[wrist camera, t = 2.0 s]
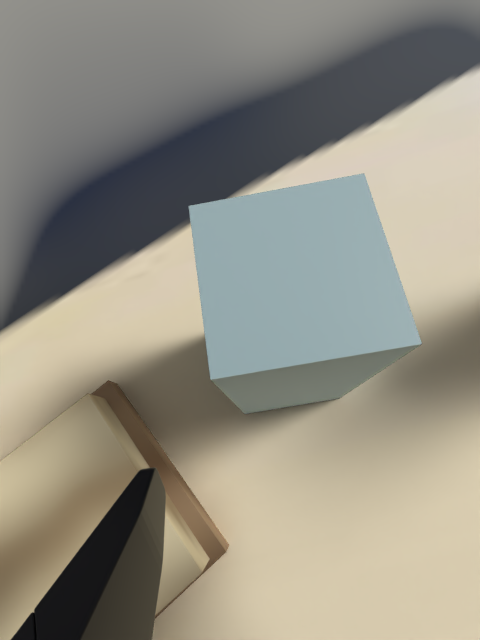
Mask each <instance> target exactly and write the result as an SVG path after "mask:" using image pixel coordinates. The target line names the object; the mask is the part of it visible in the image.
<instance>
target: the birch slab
mask: <svg viewBox="0 0 480 640" xmlns="http://www.w3.org/2000/svg"><path fill="white" fill-rule="evenodd" d="M145 468H150V467H149V465H148V464H147V462H146V461H145V459H144V458H143V456H142V455H141V453H140V452H139V450H138V448H137V447H136V445H135V444H134V442H133V441H132V439H131V438H130V436H129V435H128V433H127V432H126V430H125V429H124V427H123V425H122V424H121V422H120V421H119V419H118V418H117V416H116V415H115V413H114V412H113V410H112V409H111V407H110V406H109V404H108V403H107V401H106V399H105V398H102V397H98V396H95V395H91V394H86V395H85V396H84V397H83V398H81V399H80V400H79V401H77V402H76V403H75V404H74V405H72V406H71V407H70V408H68V409H67V410H66V411H64V412H63V413H62V414H61V415H59V416H58V417H57V418H55V419H54V420H53V421H52V422H50V423H49V424H48V425H46V426H45V427H44V428H43V429H41V430H40V431H39V432H37V433H36V434H35V435H33V436H32V437H31V438H30V439H28V440H27V441H26V442H24V443H23V444H22V445H21V446H19V447H18V448H17V449H15V450H14V451H13V452H12V453H10V454H9V455H8V456H6V457H5V458H4V459H2V460H1V461H0V640H11V638H12V637H13V636H14V635H15V633H16V632H17V631H18V629H19V628H20V627H21V625H22V624H23V623H24V621H25V620H26V619H27V618H28V616H29V615H30V614H31V613H32V612H34V609H35V607H36V606H37V605H38V603H39V602H40V601H41V599H42V598H43V597H44V595H45V594H46V593H47V591H48V590H49V589H50V587H51V586H52V585H53V583H54V582H55V581H56V579H57V578H58V577H59V575H60V574H61V573H62V571H63V570H64V569H65V567H66V566H67V565H68V564H69V562H70V561H71V560H72V558H73V557H74V556H75V554H76V553H77V552H78V550H79V549H80V548H81V546H82V545H83V544H84V542H85V541H86V540H87V538H88V537H89V536H90V534H91V533H92V532H93V530H94V529H95V528H96V527H97V525H98V524H99V523H100V521H101V520H102V519H103V517H104V516H105V515H106V513H107V512H108V511H109V509H110V508H111V507H112V505H113V504H114V503H115V501H116V500H117V499H118V497H119V496H120V495H121V493H122V492H123V491H124V489H125V488H126V487H127V486H128V484H129V483H130V482H131V480H132V479H133V478H134V476H135V475H136V474H137V472H138V471H139V470H141V469H145ZM165 492H166V491H165ZM208 561H209V557H208V556H207V554H206V553H205V551H204V550H203V548H202V546H201V545H200V543H199V542H198V540H197V539H196V537H195V536H194V534H193V533H192V531H191V530H190V528H189V527H188V525H187V524H186V522H185V520H184V519H183V517H182V516H181V514H180V513H179V511H178V510H177V508H176V507H175V505H174V504H173V502H172V501H171V499H170V497H169V496H168V494H167V493H166V506H165V529H164V551H163V564H162V572H161V579H160V586H159V593H158V600H157V607H156V613H155V615H156V614H158V613H159V612H160V611H161V610H162V609H163V608H164V607H165V606H166V605H167V604H168V603H170V602H171V601H172V600H173V599H174V598H175V597H176V596H177V595H178V594H179V593H180V592H182V591H183V590H184V589H185V588H186V587H187V586H188V585H189V584H190V583H191V582H192V581H194V580H195V579H196V578H197V577H198V576H199V575H200V574H201V573H202V572H203V570H204V568H205V566H206V565H207V563H208Z"/></svg>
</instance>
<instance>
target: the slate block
mask: <svg viewBox="0 0 480 640" xmlns="http://www.w3.org/2000/svg"><path fill="white" fill-rule="evenodd" d="M189 212H190V220H191V228H192V236H193V244H194V252H195V260H196V268H197V276H198V284H199V292H200V300H201V308H202V316H203V324H204V332H205V340H206V348H207V356H208V364H209V372H210V380H211V381H212V382H213V383H214V384H215V385H216V386H217V387H218V388H219V389H220V390H221V391H222V392H223V393H224V394H225V395H226V396H227V397H228V398H229V399H230V400H231V401H232V402H233V403H234V404H235V405H236V406H237V407H238V408H239V409H240V410H241V411H242V412H243V413H244V414H249V413H255V412H261V411H267V410H273V409H279V408H285V407H291V406H297V405H303V404H309V403H315V402H321V401H327V400H333V399H339V398H341V397H342V396H344V395H345V394H347V393H348V392H350V391H351V390H353V389H354V388H356V387H357V386H359V385H360V384H362V383H363V382H365V381H367V380H368V379H370V378H371V377H373V376H374V375H376V374H377V373H379V372H380V371H382V370H383V369H385V368H386V367H388V366H389V365H391V364H392V363H394V362H395V361H397V360H398V359H400V358H401V357H403V356H404V355H406V354H408V353H409V352H411V351H412V350H414V349H415V348H417V347H418V346H420V345H421V344H422V342H421V339H420V337H419V334H418V331H417V328H416V325H415V322H414V319H413V316H412V313H411V310H410V307H409V304H408V301H407V298H406V295H405V292H404V289H403V286H402V284H401V281H400V278H399V275H398V272H397V269H396V266H395V263H394V260H393V257H392V254H391V251H390V248H389V245H388V242H387V239H386V236H385V233H384V230H383V228H382V225H381V222H380V219H379V216H378V213H377V210H376V207H375V204H374V201H373V198H372V195H371V192H370V189H369V186H368V183H367V180H366V177H365V175H364V174H358V175H353V176H348V177H342V178H337V179H331V180H326V181H321V182H315V183H310V184H305V185H299V186H294V187H289V188H283V189H278V190H272V191H267V192H262V193H256V194H251V195H246V196H240V197H235V198H229V199H224V200H219V201H214V202H208V203H203V204H198V205H192V206H189Z"/></svg>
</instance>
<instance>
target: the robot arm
mask: <svg viewBox="0 0 480 640" xmlns="http://www.w3.org/2000/svg"><path fill="white" fill-rule="evenodd" d="M165 506H166V492H165V488H164V485H163V482H162V480H161V477H160V475H159V472H158V470H157V469H156V468H155V467H151V468H145V469H141V470H139V471H138V472H137V474H136V475H135V476H134V478H133V479H132V480H131V482H130V483H129V484H128V486H127V487H126V488H125V489H124V491H123V492H122V493H121V495H120V496H119V497H118V499H117V500H116V501H115V503H114V504H113V505H112V507H111V508H110V509H109V511H108V512H107V513H106V515H105V516H104V517H103V519H102V520H101V521H100V523H99V524H98V525H97V527H96V528H95V529H94V530H93V532H92V533H91V534H90V536H89V537H88V538H87V540H86V541H85V542H84V544H83V545H82V546H81V548H80V549H79V550H78V552H77V553H76V554H75V556H74V557H73V558H72V560H71V561H70V562H69V564H68V565H67V566H66V567H65V569H64V570H63V571H62V573H61V574H60V575H59V577H58V578H57V579H56V581H55V582H54V583H53V585H52V586H51V587H50V589H49V590H48V591H47V593H46V594H45V595H44V597H43V598H42V599H41V601H40V602H39V603H38V605H37V606H36V607H35V609H34V612H32V613H31V614H30V615H29V616H28V618H27V619H26V620H25V621H24V623H23V624H22V625H21V627H20V628H19V629H18V631H17V632H16V633H15V635H14V636H13V637H12V638H11V640H152V634H153V627H154V620H155V613H156V607H157V600H158V593H159V586H160V579H161V572H162V564H163V551H164V529H165Z"/></svg>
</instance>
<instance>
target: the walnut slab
mask: <svg viewBox="0 0 480 640" xmlns="http://www.w3.org/2000/svg"><path fill="white" fill-rule="evenodd" d="M91 395H95V396H98V397H102V398H105V399H106V401H107V403H108V404H109V406H110V407H111V409H112V410H113V412H114V413H115V415H116V416H117V418H118V419H119V421H120V422H121V424H122V425H123V427H124V429H125V430H126V432H127V433H128V435H129V436H130V438H131V439H132V441H133V442H134V444H135V445H136V447H137V448H138V450H139V452H140V453H141V455H142V456H143V458H144V459H145V461H146V462H147V464H148V465H149V467H150V468H151V467H155V468H156V469H157V470H158V472H159V475H160V477H161V480H162V482H163V485H164V488H165V491H166V493H167V494H168V496H169V497H170V499H171V501H172V502H173V504H174V505H175V507H176V508H177V510H178V511H179V513H180V514H181V516H182V517H183V519H184V520H185V522H186V524H187V525H188V527H189V528H190V530H191V531H192V533H193V534H194V536H195V537H196V539H197V540H198V542H199V543H200V545H201V546H202V548H203V550H204V551H205V553H206V554H207V556H208V557H209V561H208V563H207V565H206V566H205V568H204V570H203V572H202V573H201V574H200V575H199V576H198V577H197V578H196V579H195V580H194V581H192V582H191V583H190V584H189V585H188V586H187V587H186V588H185V589H184V590H183V591H182V592H180V593H179V594H178V595H177V596H176V597H175V598H174V599H173V600H172V601H171V602H170V603H168V604H167V605H166V606H165V607H164V608H163V609H162V610H161V611H160V612H159V613H158V614H156V615H155V618H156V617H157V616H158V615H159V614H160V613H161V612H162V611H163V610H165V609H166V608H167V607H168V606H169V605H170V604H171V603H172V602H173V601H174V600H175V599H176V598H177V597H178V596H180V595H181V594H182V593H183V592H184V591H185V590H186V589H187V588H188V587H189V586H190V585H191V584H192V583H193V582H195V581H196V580H197V579H198V578H199V577H200V576H201V575H202V574H203V573H204V572H205V571H206V570H207V569H208V568H210V567H211V566H212V565H213V564H214V563H215V562H216V561H217V560H218V559H219V558H220V557H221V556H222V555H223V554H224V553H226V551H227V549H228V546H229V544H228V543H227V541H226V540H225V538H224V537H223V536H222V534H221V533H220V531H219V530H218V528H217V527H216V526H215V524H214V523H213V521H212V520H211V518H210V517H209V515H208V514H207V513H206V511H205V510H204V508H203V507H202V505H201V504H200V503H199V501H198V500H197V498H196V497H195V495H194V494H193V492H192V491H191V490H190V488H189V487H188V485H187V484H186V482H185V481H184V480H183V478H182V477H181V475H180V474H179V472H178V471H177V469H176V468H175V467H174V465H173V464H172V462H171V461H170V459H169V458H168V457H167V455H166V454H165V452H164V451H163V449H162V448H161V446H160V445H159V444H158V442H157V441H156V439H155V438H154V436H153V435H152V434H151V432H150V431H149V429H148V428H147V426H146V425H145V423H144V422H143V421H142V419H141V418H140V416H139V415H138V413H137V412H136V411H135V409H134V408H133V406H132V405H131V403H130V402H129V400H128V399H127V398H126V396H125V395H124V393H123V392H122V390H121V389H120V388H119V386H118V385H117V384H116V383H113V382H111V381H107V382H106V383H105V384H103V385H102V386H101V387H100V388H98V389H97V390H96V391H95V392H93V393H92V394H91Z"/></svg>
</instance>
